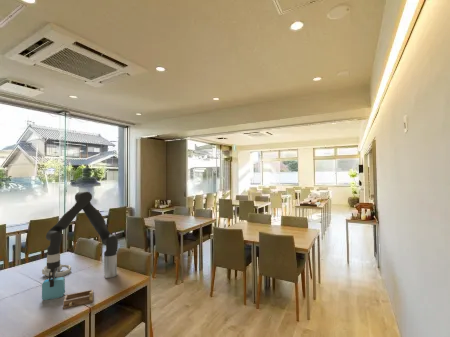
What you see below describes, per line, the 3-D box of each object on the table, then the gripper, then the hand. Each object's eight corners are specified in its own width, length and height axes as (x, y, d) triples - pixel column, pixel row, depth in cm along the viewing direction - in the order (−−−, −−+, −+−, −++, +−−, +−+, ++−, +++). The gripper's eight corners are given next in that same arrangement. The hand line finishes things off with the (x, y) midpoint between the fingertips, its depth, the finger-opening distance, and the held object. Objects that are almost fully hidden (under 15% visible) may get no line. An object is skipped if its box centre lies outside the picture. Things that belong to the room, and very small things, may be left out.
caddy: (66, 298, 159) (66, 289, 159) (93, 292, 166) (93, 284, 166) (62, 309, 147) (62, 299, 147) (92, 302, 154) (92, 293, 154)
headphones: (35, 277, 191) (56, 282, 187) (37, 267, 191) (57, 272, 187) (56, 268, 209) (75, 272, 205) (57, 259, 209) (76, 264, 205)
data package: (64, 293, 165) (64, 276, 165) (63, 297, 161) (63, 279, 161) (44, 297, 161) (44, 279, 161) (41, 300, 157) (41, 282, 157)
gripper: (58, 262, 157) (57, 287, 156) (62, 256, 169) (61, 278, 169) (44, 264, 153) (43, 290, 153) (49, 257, 166) (48, 281, 166)
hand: (53, 284), depth 161 cm, fingers open, 8 cm apart
